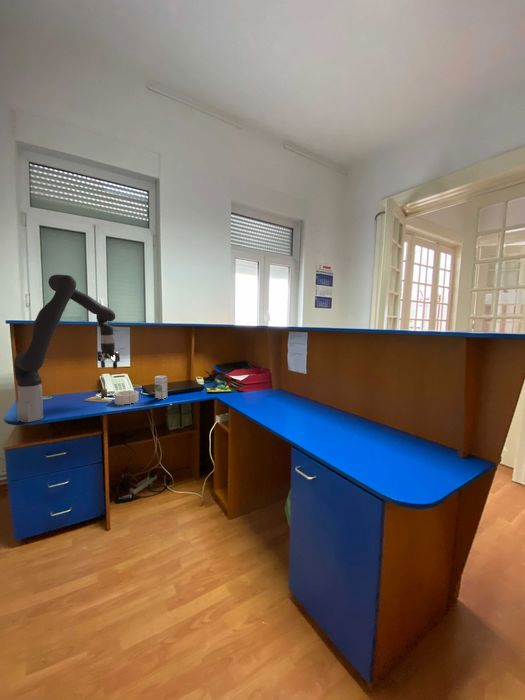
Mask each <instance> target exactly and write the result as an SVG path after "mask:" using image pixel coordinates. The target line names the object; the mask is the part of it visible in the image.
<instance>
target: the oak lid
mask: <svg viewBox="0 0 525 700" xmlns="http://www.w3.org/2000/svg"><path fill="white" fill-rule="evenodd" d="M100 390H101V391H100V394H101V398H99V397H97V396H96V395H94V396H91V397H87V398H85V399H83V400H82V401H83V402H90V403H91V402H93V403H94V402H95V403H106V404H107V403H110V402H112V400H113V399H102V398H104V397H106V396H107V394H108V389H107V388H103V389H100ZM113 401H114V400H113Z"/></svg>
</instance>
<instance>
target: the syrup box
mask: <svg viewBox="0 0 525 700" xmlns="http://www.w3.org/2000/svg"><path fill="white" fill-rule="evenodd" d="M166 397H167V398H168V376H167V375H157V376H154V399H155V398H158V399H157V400H160V399H163V400H165V399H164V398H166ZM167 398H166V399H167Z"/></svg>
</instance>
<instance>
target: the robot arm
mask: <svg viewBox="0 0 525 700" xmlns="http://www.w3.org/2000/svg"><path fill="white" fill-rule="evenodd" d="M48 286H49V288H50V289H51V290H53V291H54V295H53V296H52V298H51V299H50V300H49V301H48V302H47V303H46V304H45V305H44V306H43V307H42V308H41V309H40V310H39V312H38V314H37V315H36V317H35V320H34V322H33V327H32V337H31V342H30V344H29V346H28V348H27V349H26V351H22V352H20V353H17V355H16V356H15V357H14V361H13V365H14V366H13V367H14V377H15V380H16V383H17V384H16V385H17V396H18V397H17V398H18V399H17V400H18V401H16V416H17V417H16V418H17V422H19V421H21V422H22V423H30V422H31V423H32V422H35V421H39V420H42V419H43V418H44V405H43V404H44V403H43V402H44V401H43V382H42V378H41V376H40V374H39V370H40V369H41V368H42V367H43V365H44V361H45V359H46V355H47V352H48V349H49V346H50V343H51V341H52V338H53V337H54V335H55V333H56V330H57V328H58V325H59V324H60V321H61V319H62V316H63V314H64V311H65V309H66V307H67V305H68V303H69V301H70V300H72V301H73V302H75V303H77V304H78V305H80V306H81V307H82V308H84V309H86V310H87V311H88V312H89V313H92V314H93V315H96V321H97V324H98V326H99V328H100V329H99V330H100V332H99V333H100V350H99V351H97V353H96V355H97V362H98V361H99V363H100V367H101V368H102V369H104V368H106V360H107V359H108V360H111V362H112V369H114V370H116V369H117V368H118V362H120V360H121V359H120V352H119V351H116V352H115V349H116V347H115V346H116V345H115V337H114V336H115V334H114V327H113V326H112V325H110V324H109V322H114V320H115V319H116V313H115V311H114V310H112V309H111V308H109V307H107V306H105V305H103V304H101V303H100V302H99V301H97V300H96V299H94V298H93V297H91V296H89V295H88V294H85V293H83V292H81V291H79V290H78V289H76V288H77V280H76V279H75V277H73V276H71V275H67V274H53V275H51V276H50V277H49V278H48ZM21 422H20V423H21Z"/></svg>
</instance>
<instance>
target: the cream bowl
mask: <svg viewBox="0 0 525 700" xmlns="http://www.w3.org/2000/svg"><path fill="white" fill-rule="evenodd" d="M113 394H114V397H115V400H114V404H115V405H117V406H125V405H124V404H130V405H132V404H131V403H134V404H136V403H135V402H137V401H138V400H139V399H140V398H139V391H138V390H132V389H131V390H129V389H127V390H121V391H117V392H114V393H113ZM139 401H140V400H139ZM139 401H138V402H139ZM138 402H137V403H138Z"/></svg>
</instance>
